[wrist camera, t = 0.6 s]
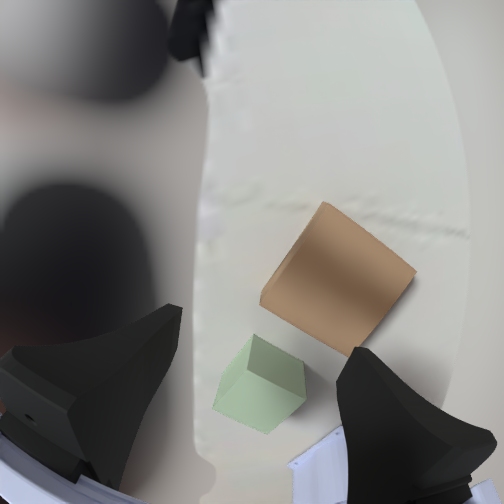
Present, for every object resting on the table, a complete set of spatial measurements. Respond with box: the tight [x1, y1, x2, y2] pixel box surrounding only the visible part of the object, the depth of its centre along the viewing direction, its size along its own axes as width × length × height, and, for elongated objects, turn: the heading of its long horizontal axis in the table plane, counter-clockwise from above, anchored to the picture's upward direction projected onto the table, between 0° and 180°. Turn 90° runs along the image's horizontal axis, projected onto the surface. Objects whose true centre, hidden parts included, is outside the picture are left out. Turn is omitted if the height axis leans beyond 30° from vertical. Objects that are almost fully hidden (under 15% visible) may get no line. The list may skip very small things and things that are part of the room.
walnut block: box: [259, 202, 417, 357], centre depth 19 cm, size 8×8×3 cm
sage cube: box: [212, 334, 307, 434], centre depth 20 cm, size 5×5×5 cm
